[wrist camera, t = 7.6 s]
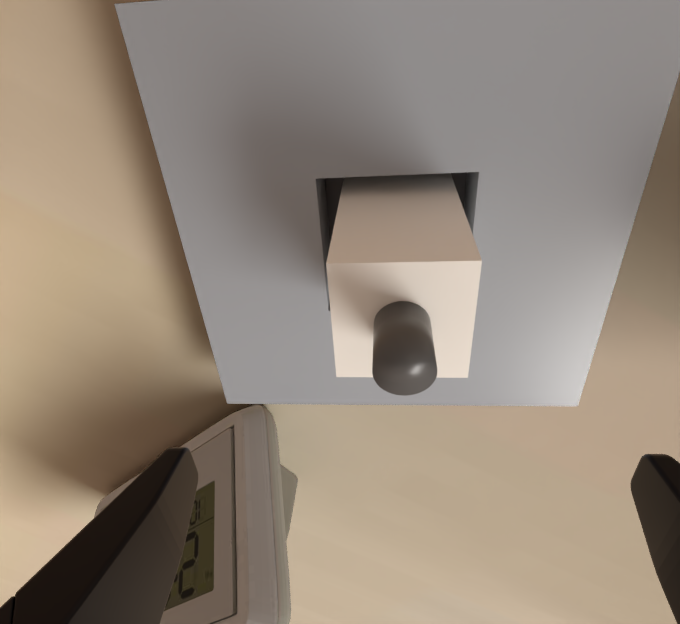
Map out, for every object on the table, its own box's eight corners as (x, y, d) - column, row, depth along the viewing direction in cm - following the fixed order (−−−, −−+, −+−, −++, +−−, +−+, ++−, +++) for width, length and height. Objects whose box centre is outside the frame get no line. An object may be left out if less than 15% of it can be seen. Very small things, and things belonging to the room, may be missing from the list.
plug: (450, 172, 18) (498, 303, 10) (443, 265, 20) (478, 428, 13) (344, 175, 18) (317, 305, 11) (349, 267, 20) (330, 426, 13)
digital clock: (270, 384, 25) (211, 595, 16) (353, 480, 29) (341, 689, 21) (68, 465, 31) (-57, 656, 22) (162, 536, 35) (88, 720, 26)
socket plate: (666, -41, 14) (715, -46, 12) (560, 368, 23) (577, 406, 21) (149, 1, 16) (114, 3, 13) (240, 368, 24) (227, 403, 22)
